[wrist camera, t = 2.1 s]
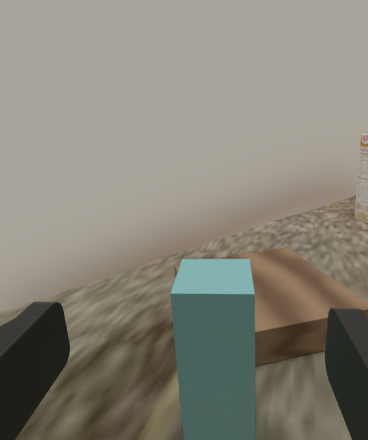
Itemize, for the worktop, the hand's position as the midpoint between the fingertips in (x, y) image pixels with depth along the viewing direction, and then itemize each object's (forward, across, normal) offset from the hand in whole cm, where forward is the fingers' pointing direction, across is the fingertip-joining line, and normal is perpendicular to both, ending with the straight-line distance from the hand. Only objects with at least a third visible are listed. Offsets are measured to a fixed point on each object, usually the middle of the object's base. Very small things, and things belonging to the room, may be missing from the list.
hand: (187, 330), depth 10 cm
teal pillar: (+12, 0, +18) cm, 21 cm away
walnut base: (+29, -4, +17) cm, 34 cm away
